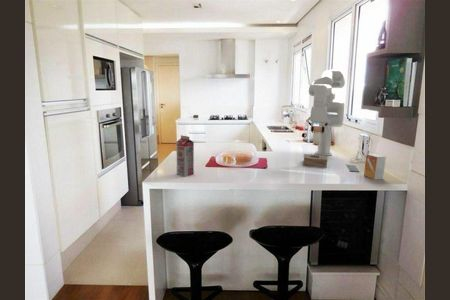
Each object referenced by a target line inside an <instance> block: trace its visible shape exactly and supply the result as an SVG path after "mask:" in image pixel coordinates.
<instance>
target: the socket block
mask: <svg viewBox="0 0 450 300" xmlns="http://www.w3.org/2000/svg"><path fill="white" fill-rule="evenodd" d="M327 164H328V159H327V156H325V155H318V154H310V153H308V154H306V153H304V154H303V167H314V168H325V169H326V168H327Z"/></svg>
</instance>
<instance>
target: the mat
mask: <svg viewBox="0 0 450 300" xmlns="http://www.w3.org/2000/svg"><path fill="white" fill-rule="evenodd" d="M346 168H347V169H348V171H349V172H350V173H351V172H352V173H360V170H359V168H357V166H356V165H355V164H354V165H353V164H346Z"/></svg>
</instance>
